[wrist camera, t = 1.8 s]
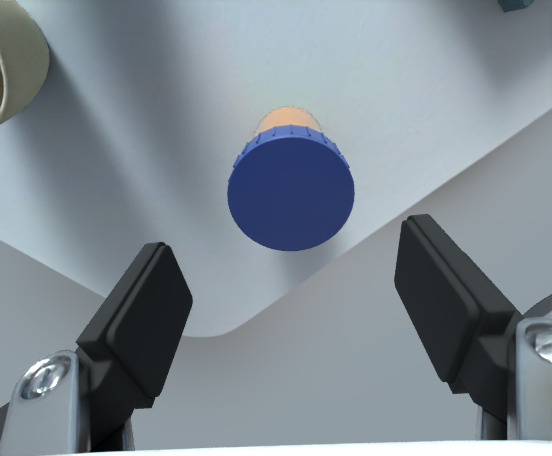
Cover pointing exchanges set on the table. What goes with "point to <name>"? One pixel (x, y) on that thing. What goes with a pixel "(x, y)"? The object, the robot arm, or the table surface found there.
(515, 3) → the tray
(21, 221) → the table surface
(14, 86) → the flower pot
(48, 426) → the robot arm
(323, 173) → the lid
